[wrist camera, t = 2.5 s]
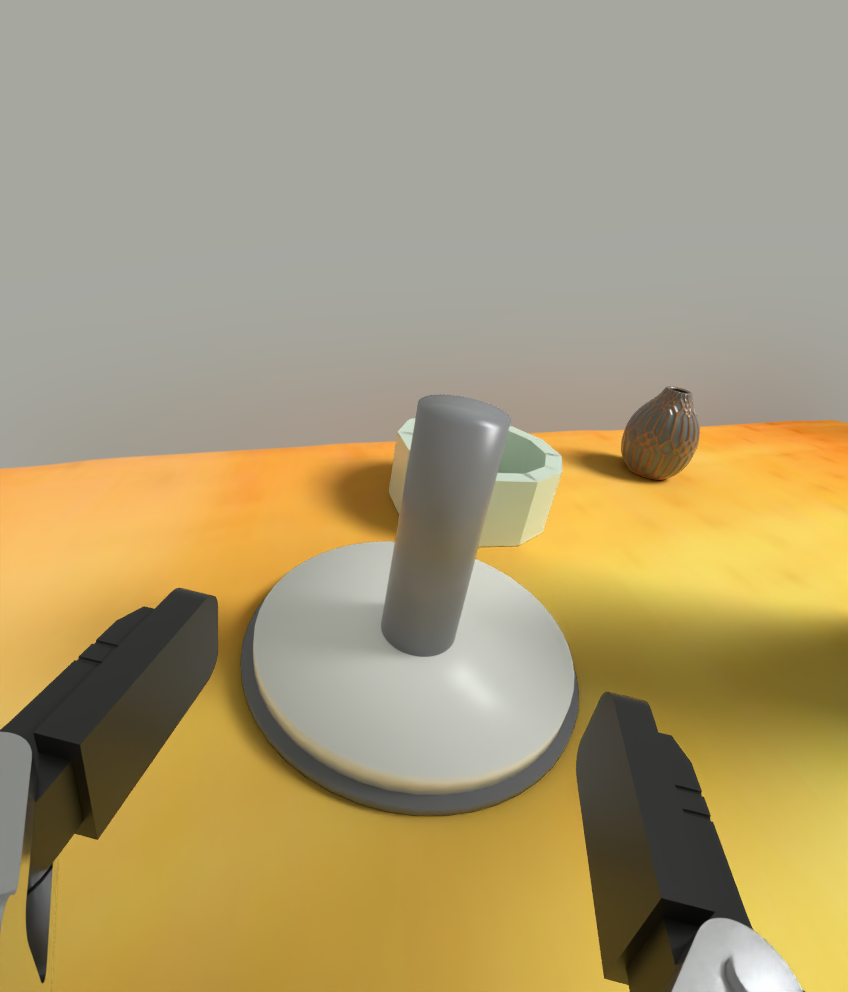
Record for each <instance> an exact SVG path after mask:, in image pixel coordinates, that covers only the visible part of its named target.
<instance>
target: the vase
mask: <svg viewBox="0 0 848 992" xmlns="http://www.w3.org/2000/svg"><path fill="white" fill-rule="evenodd" d="M699 434H700V427H699V422H698V419H697V415H696V412H695V410H694V407H693V402H692V393H691V392H690V391H687V390H685V389H682V388H678V387H671V386H668V387H666V388H665V389H664V390H663V391H662V392H661V393H660V394H659V395H658V396H657V397H655V398H654V399H652V400H650V401H649V402H647V403H646V404H645V405H643V406H642V407H641V408H639V409H638V410H637V411H636V412H635V413H634V415H633V416H632V417H631V419H630V420H629V422H628V424H627V426H626V428H625V430H624V433H623V437H622V443H621V452H622V457H623V460H624V462H625V464H626V466H627V467H628V469H630V470H631V471H632V472H634V473H636V474H638V475H640V476H643V477H646V478H649V479H654V480H664V479H667V478H670V477H672V476H674V475H676V474H678V473H679V472H680V471H682V470H683V469H684V468H685V467H686V466H687V464H688V463H689V462H690V460H691V459H692V457H693V455H694V453H695V451H696V448H697V445H698V442H699Z"/></svg>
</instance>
